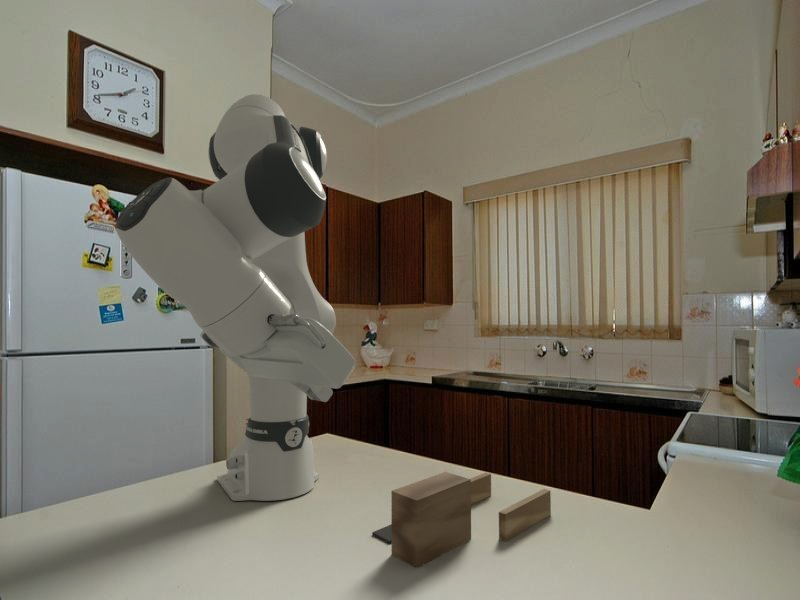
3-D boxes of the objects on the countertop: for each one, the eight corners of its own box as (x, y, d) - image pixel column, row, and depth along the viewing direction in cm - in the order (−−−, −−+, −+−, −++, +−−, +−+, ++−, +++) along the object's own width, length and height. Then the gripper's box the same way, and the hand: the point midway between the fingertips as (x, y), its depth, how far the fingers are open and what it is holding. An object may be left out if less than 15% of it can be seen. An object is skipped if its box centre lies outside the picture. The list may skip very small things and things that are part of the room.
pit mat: (372, 534, 71) (372, 532, 71) (399, 523, 75) (399, 520, 75) (389, 543, 68) (389, 541, 68) (417, 530, 72) (417, 528, 72)
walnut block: (391, 555, 65) (391, 490, 65) (446, 528, 73) (445, 471, 73) (417, 569, 61) (416, 500, 61) (471, 539, 69) (470, 479, 70)
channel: (438, 514, 78) (438, 491, 78) (485, 493, 88) (485, 472, 88) (505, 541, 68) (505, 514, 69) (550, 514, 78) (550, 490, 78)
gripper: (320, 292, 45) (393, 383, 51) (230, 302, 59) (295, 372, 65) (279, 339, 41) (362, 430, 48) (194, 337, 56) (267, 407, 62)
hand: (323, 396), depth 57 cm, fingers closed
